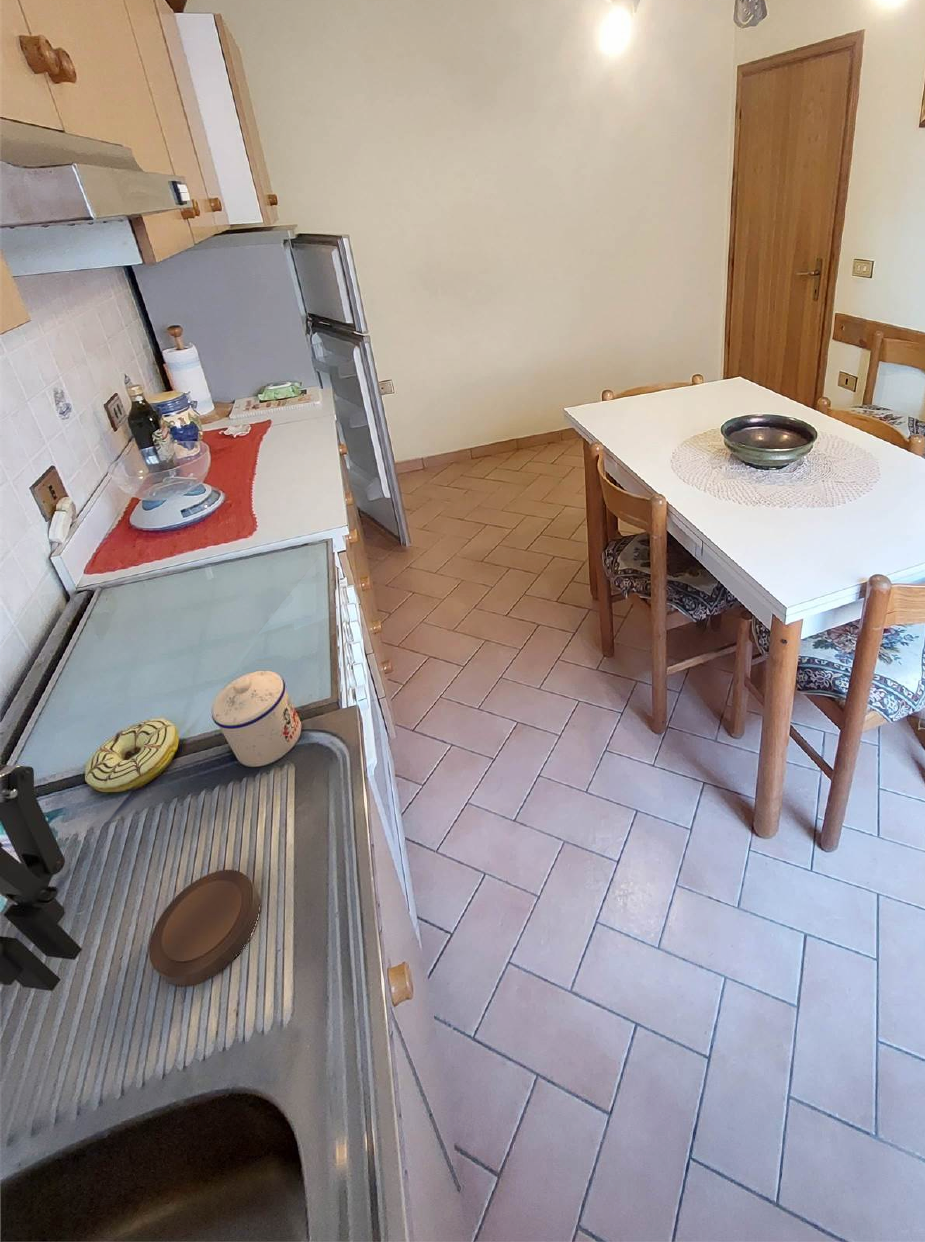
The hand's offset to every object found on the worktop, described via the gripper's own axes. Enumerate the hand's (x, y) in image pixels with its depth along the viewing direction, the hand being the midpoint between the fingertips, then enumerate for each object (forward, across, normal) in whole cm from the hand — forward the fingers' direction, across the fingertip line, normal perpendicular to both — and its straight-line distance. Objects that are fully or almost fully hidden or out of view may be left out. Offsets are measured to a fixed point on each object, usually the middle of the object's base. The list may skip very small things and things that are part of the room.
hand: (53, 967), depth 50 cm
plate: (+16, +10, 0) cm, 19 cm away
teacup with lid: (+17, +34, +8) cm, 39 cm away
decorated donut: (+17, +28, +24) cm, 40 cm away
